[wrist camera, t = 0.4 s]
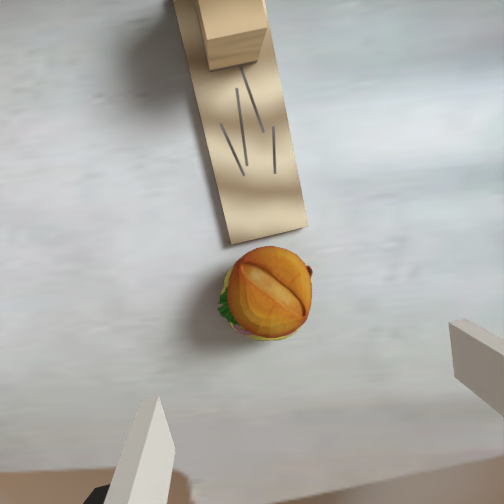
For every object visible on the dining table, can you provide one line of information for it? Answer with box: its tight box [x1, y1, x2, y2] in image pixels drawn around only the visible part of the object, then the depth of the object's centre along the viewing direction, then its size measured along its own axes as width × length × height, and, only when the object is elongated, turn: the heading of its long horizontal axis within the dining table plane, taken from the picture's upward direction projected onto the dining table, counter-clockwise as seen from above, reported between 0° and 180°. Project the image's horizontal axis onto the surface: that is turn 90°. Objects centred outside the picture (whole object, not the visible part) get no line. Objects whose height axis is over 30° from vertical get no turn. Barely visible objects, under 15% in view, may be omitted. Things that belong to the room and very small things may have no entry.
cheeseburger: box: [218, 246, 313, 341], centre depth 38 cm, size 10×11×10 cm
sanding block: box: [193, 0, 267, 72], centre depth 31 cm, size 8×5×8 cm, turn 12°
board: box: [173, 0, 308, 245], centre depth 37 cm, size 26×9×1 cm, turn 12°
